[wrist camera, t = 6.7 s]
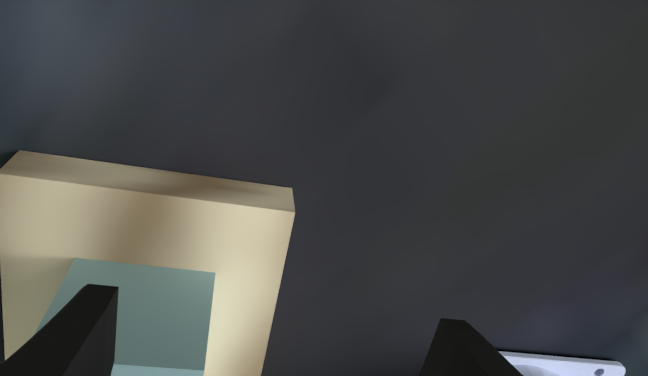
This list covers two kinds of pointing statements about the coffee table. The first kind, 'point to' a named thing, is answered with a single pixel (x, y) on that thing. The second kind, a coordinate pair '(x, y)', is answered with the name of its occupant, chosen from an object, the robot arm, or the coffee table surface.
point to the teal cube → (149, 315)
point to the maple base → (144, 242)
